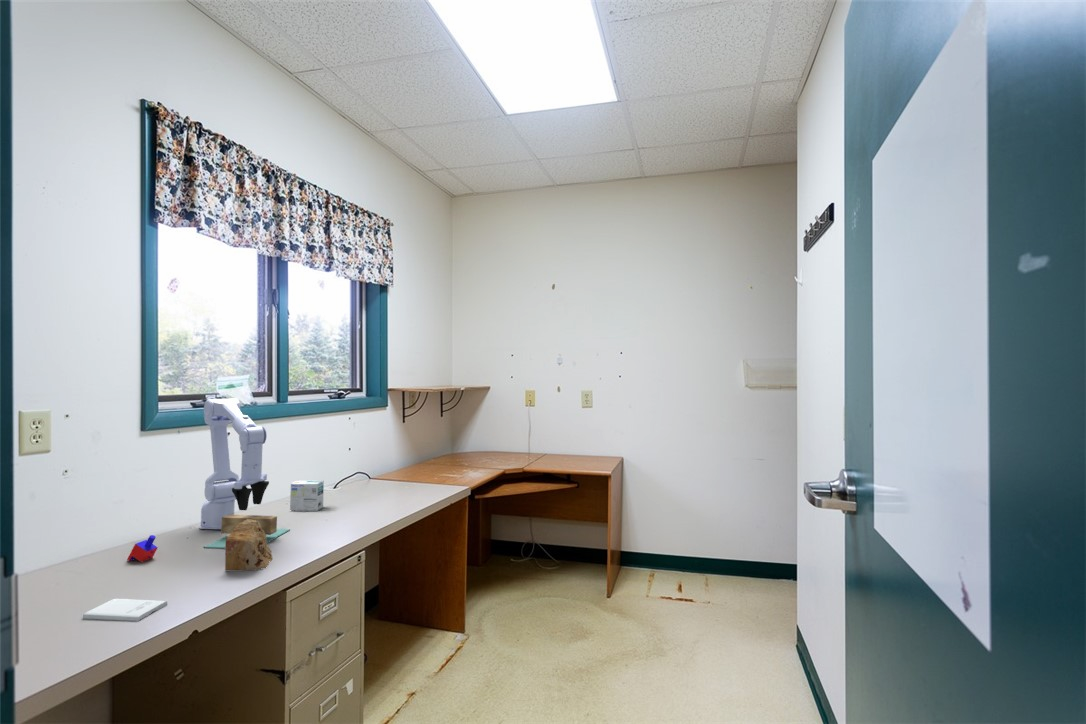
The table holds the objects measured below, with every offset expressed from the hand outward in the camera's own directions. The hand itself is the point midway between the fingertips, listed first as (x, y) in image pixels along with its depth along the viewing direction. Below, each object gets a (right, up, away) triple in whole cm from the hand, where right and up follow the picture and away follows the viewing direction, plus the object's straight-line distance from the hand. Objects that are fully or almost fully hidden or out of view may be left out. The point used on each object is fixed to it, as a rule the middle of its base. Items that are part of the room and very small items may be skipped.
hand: (250, 507), depth 169 cm
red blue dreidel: (-19, -9, -21) cm, 29 cm away
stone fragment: (+13, -10, -21) cm, 26 cm away
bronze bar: (0, -8, 0) cm, 8 cm away
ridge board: (0, -10, 0) cm, 10 cm away
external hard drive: (+2, -10, -52) cm, 53 cm away
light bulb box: (+1, -12, +38) cm, 39 cm away
